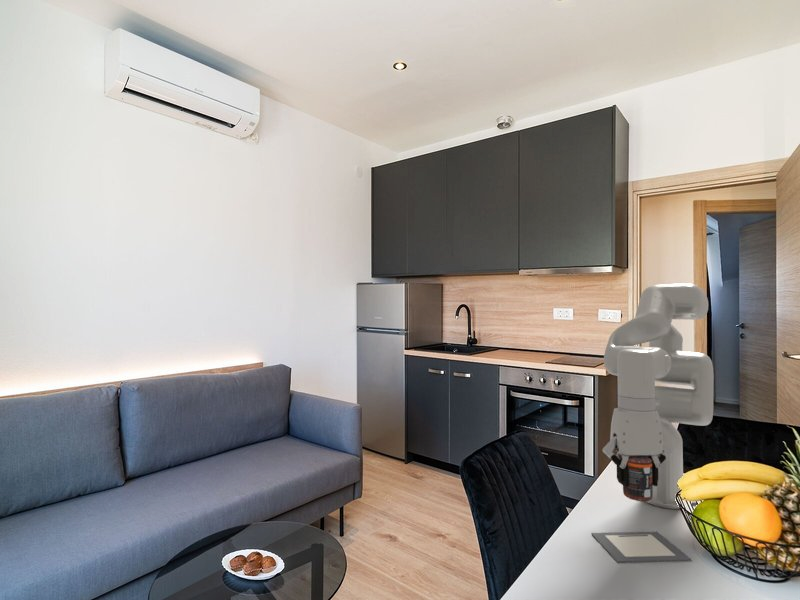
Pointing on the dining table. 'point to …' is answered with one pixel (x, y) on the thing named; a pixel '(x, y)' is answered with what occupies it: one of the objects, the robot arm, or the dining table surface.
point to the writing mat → (640, 547)
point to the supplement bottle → (639, 478)
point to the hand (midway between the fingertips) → (637, 483)
